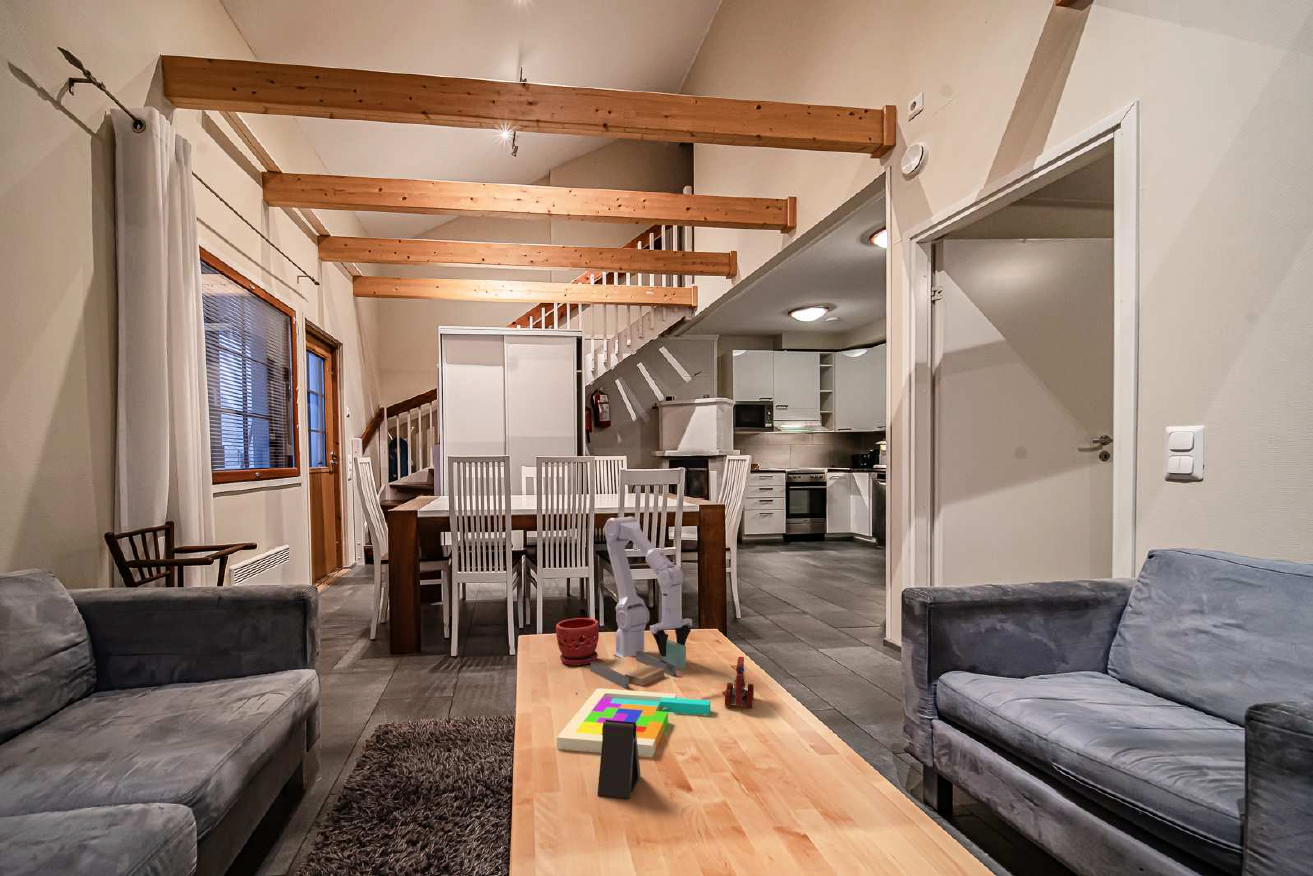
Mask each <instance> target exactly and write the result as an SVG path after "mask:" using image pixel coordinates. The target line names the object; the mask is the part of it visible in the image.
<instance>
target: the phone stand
mask: <svg viewBox="0 0 1313 876" xmlns="http://www.w3.org/2000/svg"><path fill="white" fill-rule="evenodd" d="M605 721H606V722H604V723H603V728H602V750H601V753H600V761H599V762H600V763H599V771H598V772H599V773H598V775H599V776H598V785H597V797H598V796H599V797H606V798H614V797H615V798H616V799H623V798H625V799H624V800H630V798H631V796H630V795H632V794H633V792H634V790H635V788H636V786H637V784H638V782H639V780H640V778H641V776H642V775H641V766H640V756H639V755H638V746H637V736H636V729H637V727H636V722H626V721H615V720H605ZM634 787H635V788H634ZM631 793H632V794H631ZM629 797H630V798H629Z"/></svg>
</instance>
